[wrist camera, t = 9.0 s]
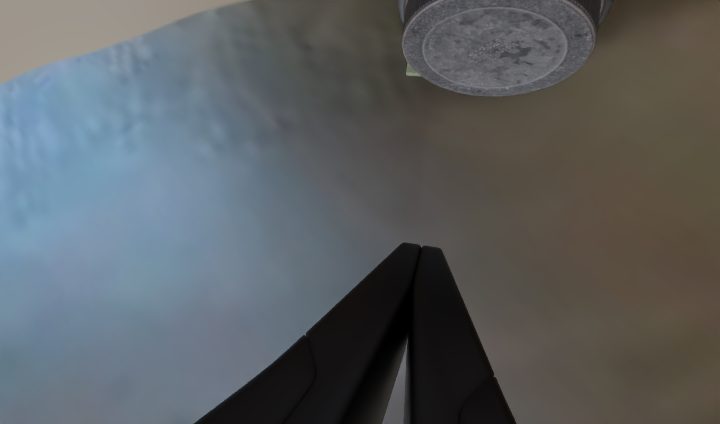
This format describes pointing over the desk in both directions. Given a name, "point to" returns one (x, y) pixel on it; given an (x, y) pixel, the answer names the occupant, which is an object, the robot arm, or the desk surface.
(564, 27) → the camera lens
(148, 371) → the desk surface
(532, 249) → the desk surface
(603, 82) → the desk surface
